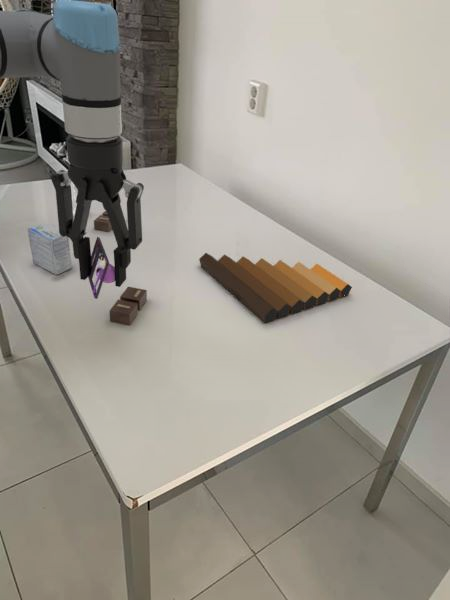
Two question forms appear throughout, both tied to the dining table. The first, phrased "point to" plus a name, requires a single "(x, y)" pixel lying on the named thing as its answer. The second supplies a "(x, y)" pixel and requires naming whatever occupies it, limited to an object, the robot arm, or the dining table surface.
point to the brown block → (102, 223)
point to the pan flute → (275, 285)
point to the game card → (100, 268)
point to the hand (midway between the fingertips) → (103, 278)
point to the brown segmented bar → (128, 305)
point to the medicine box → (49, 248)
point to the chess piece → (76, 198)
